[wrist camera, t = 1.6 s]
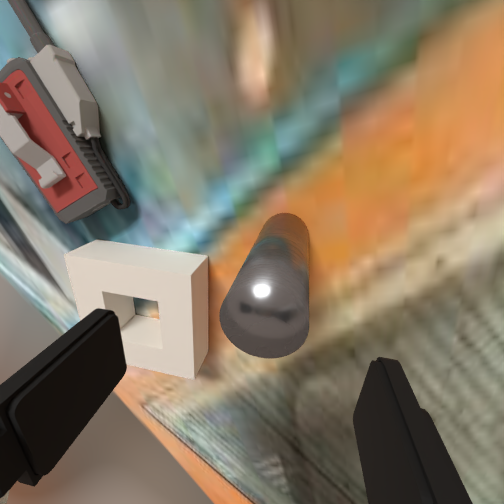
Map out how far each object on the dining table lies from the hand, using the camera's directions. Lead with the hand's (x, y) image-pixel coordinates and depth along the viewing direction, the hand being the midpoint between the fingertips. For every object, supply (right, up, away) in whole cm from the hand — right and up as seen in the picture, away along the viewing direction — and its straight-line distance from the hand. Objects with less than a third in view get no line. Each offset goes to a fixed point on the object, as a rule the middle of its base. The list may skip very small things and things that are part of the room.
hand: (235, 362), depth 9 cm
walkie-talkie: (-16, +17, +13) cm, 27 cm away
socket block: (-10, -1, +18) cm, 21 cm away
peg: (+3, +5, +13) cm, 14 cm away
